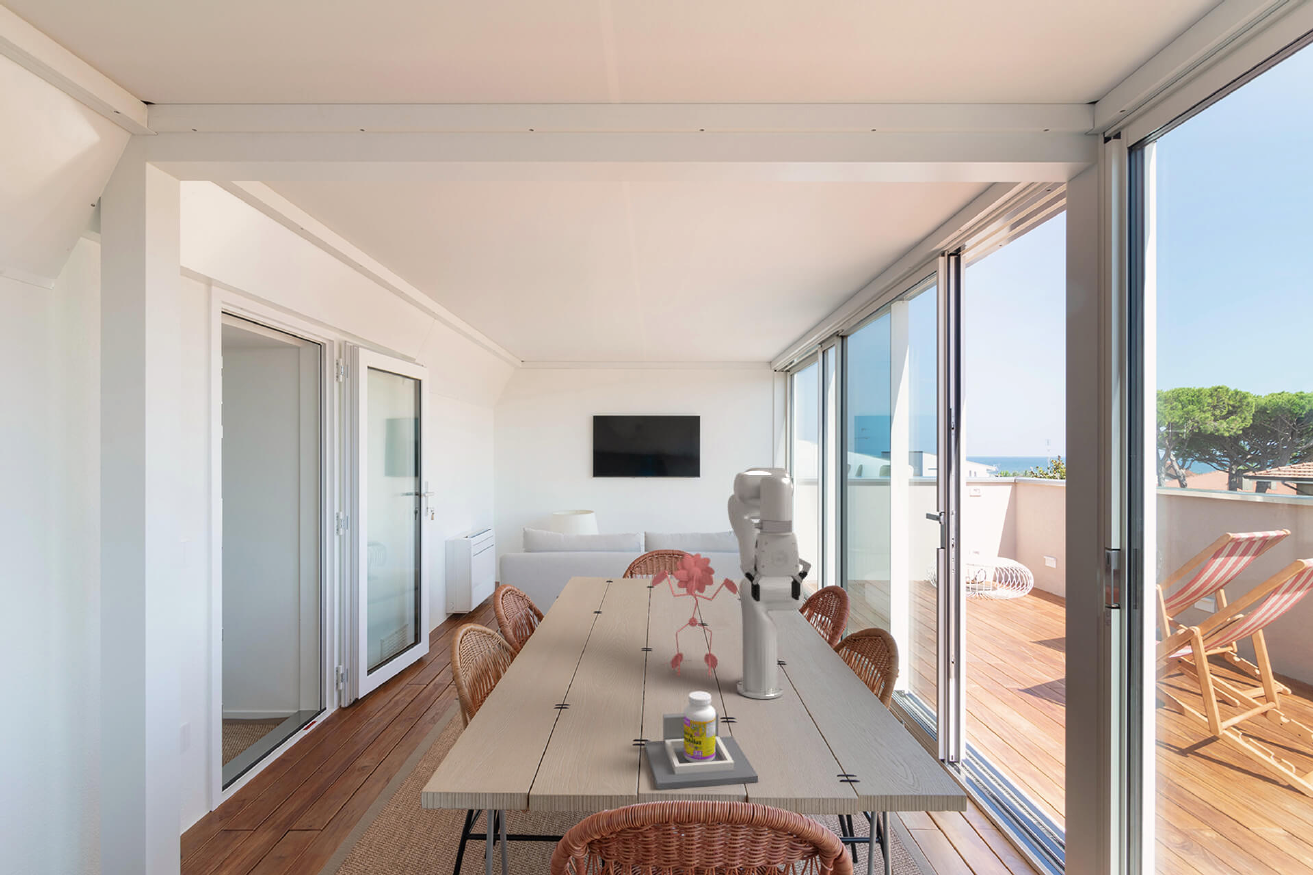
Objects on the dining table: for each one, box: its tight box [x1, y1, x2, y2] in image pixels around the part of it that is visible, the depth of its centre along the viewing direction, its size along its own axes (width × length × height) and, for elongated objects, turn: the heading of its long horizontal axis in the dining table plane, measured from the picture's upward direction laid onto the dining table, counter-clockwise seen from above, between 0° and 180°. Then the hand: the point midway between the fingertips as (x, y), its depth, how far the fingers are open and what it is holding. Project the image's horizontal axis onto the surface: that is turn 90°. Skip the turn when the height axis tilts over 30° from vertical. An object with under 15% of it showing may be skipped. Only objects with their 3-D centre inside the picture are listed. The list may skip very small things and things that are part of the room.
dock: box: [644, 710, 759, 791], centre depth 131 cm, size 18×20×7 cm
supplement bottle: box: [683, 690, 716, 763], centre depth 131 cm, size 7×7×13 cm
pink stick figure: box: [651, 553, 738, 677], centre depth 192 cm, size 15×26×35 cm, turn 89°
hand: (775, 599), depth 149 cm, fingers open, 9 cm apart
